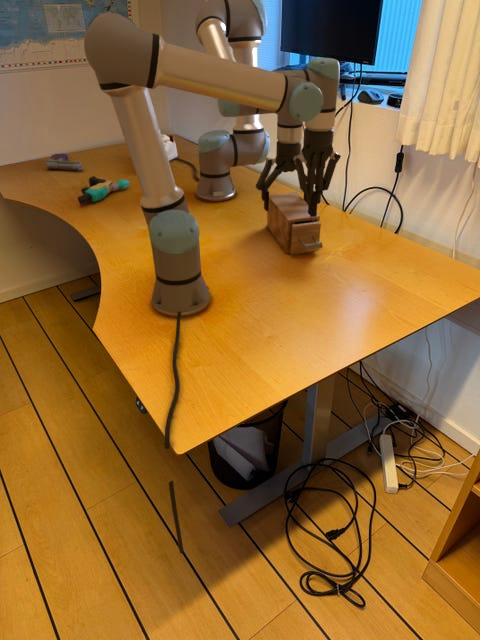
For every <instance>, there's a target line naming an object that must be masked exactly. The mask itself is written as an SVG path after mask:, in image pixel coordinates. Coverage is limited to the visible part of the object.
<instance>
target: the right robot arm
mask: <svg viewBox="0 0 480 640" xmlns="http://www.w3.org/2000/svg"><path fill="white" fill-rule="evenodd" d="M267 27H268V15H267V10H266V6H265V4H264V1H263V0H205V2H204V3H203V4H202V5H201V6H200V8H199V10H198V11H197V14H196V18H195V22H194V29H195V34H196V37H197V40H198V42H199V44H200V45H202V46H203V47H204V50H205V52H206V54H209V55H213V56H216V57H220V58H224V59H228V60H231V61H235V62H239V63H242V64H246V65H250V66H254V67H257V68H259V63H258V62H259V61H258V60H259V59H258V58H259V57H258V47H259V46H260V44H262V37H263V36H265V35H266V33H267V30H268V29H267ZM217 106H218V112H219V114H220V115H221V116H222V117H223V118H235V119H236V122H235V125H234V126H233V127H232V134H231V133H230V132H229V131H228V130H225V129H215V130H210V131H207V132H204V133H202V134H201V135H199V138H198V139H197V151H198V166H199V177H198V176H197V173H198V170H197V167H196V166H195V165H194V164H193V163H192V162H190V161H188V160H185V159H183V158H180V157H175V158H174V159H173V160H177V161H180V162H183V163H185V164H188V165H190V166H191V167H193V170H194V174H193V176H194V178H195V179H196V180H197V181H198V182H197V187H196V197H197V199H199V200H201V201H204V202H209V203H220V202H227V201H229V200H232V199H234V198H235V196H236V188H235V185H234V182H233V179H232V176H231V168H237V167H242V166H255V165H258V164H263V163H264V164H265V165H264V167H263V170H261V173H260V175H259V178H258V179H257V181H256V183H255V188H256V189H257V190H258V191H260V192H261V194H260V197H261V200H262V201H263V209H264V210H265V212H267V211H269V195H270V190H268V189H269V188H270V187H271V186H272V185H273V183H274V182H275V180H277V178H278V177H279V176H280V175H281V174H282V173H288V172H289V173H290V172H291V173H293V172H295V171H296V172H297V168H296V164H295V162H294V161H293V157H294V156H298V155H299V154H300V153H301V150H302V144H303V143H302V141H301V140H303V123H304V122H302V121H299V120H296V119H294V118H293V117H292V116H288V115H284V114H280V113H276V112H273V111H269V110H265V109H260V108H256V107H252V106H247V105H243V104H239V103H235V102H230V101H226V100H222V99H217ZM268 114H275V115H277V121H276V139H277V141H276V148H275V149H276V150H275V152H276V155H275V158H270V157H269V153H270V149H271V148H270V147H271V141H270V140H271V139H270V135H269V132H268V131H266V130H265V126H264V125H263V124H262V123H261V121H260V115H268ZM303 163H304V165H305V167H306V169H308V167H307V161H306V160H305V158H303ZM275 164H276V165H275ZM274 165H275V167H274V168H273V170H272V172H271V169H272V167H273V166H274ZM305 179H306V183H307V173H305ZM315 180H316V173H315V178H314V185H315ZM303 199H304V200H305V202H306V193H304V192H303Z"/></svg>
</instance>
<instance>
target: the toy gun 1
mask: <svg viewBox="0 0 480 640" xmlns="http://www.w3.org/2000/svg"><path fill="white" fill-rule="evenodd" d="M83 164H84V163H82V162H80V161H71V160H70V161H69V154H68V153H67V152H60V153H55V154H52V155H51V156H50V159H46V162H45V164H44V166H45V167H46V168H47V169H49V170H62V171H63V170H64V171H65V170H67V171H82V168H84V165H83Z"/></svg>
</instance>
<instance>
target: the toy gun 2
mask: <svg viewBox="0 0 480 640" xmlns="http://www.w3.org/2000/svg"><path fill="white" fill-rule="evenodd" d="M88 183H89V187H88V186H85V187H83V188H81V190H80V191H81V193H82V195H80V196H78V197H77V201H78V203H79V205H83V204H86V203H88V202H90V201H91V202H93V203H94V202H97V201H101V200H102V199H104V198H105V197H106V196H108V195H109V194H110V193H111V192H116V191H118V190H120V191H123V190H126V189H127V188H128V187H129V186H130V181H129V180H127V179H119V180H117V182H113V181H112V180H109V179H105V178H104V179H101V178H98V177H96V176H95V175H93V176H90V177H89V178H88Z"/></svg>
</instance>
